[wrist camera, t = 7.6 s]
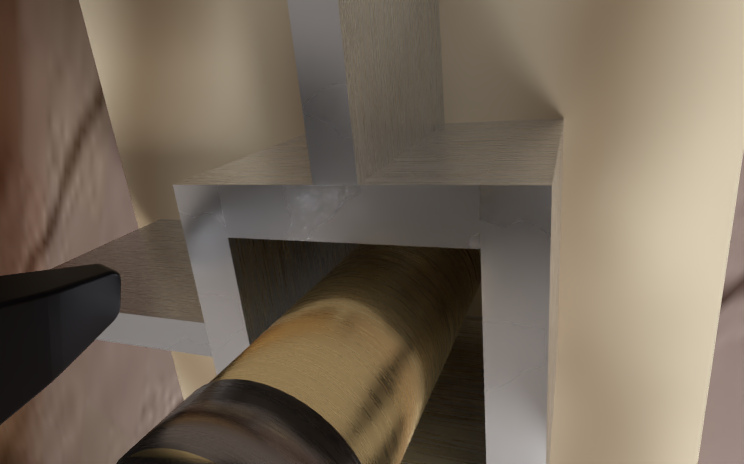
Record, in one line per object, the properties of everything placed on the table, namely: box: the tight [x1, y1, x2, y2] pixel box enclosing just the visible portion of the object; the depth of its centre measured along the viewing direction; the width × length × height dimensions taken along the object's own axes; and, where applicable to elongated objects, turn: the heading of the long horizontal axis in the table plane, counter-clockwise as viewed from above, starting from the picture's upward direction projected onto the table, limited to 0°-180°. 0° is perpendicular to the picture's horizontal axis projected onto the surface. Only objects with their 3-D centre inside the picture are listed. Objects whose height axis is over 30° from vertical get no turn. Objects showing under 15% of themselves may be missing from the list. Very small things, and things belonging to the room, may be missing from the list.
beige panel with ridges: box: [50, 0, 744, 464], centre depth 13 cm, size 18×20×8 cm
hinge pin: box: [117, 244, 481, 464], centre depth 10 cm, size 3×3×10 cm
